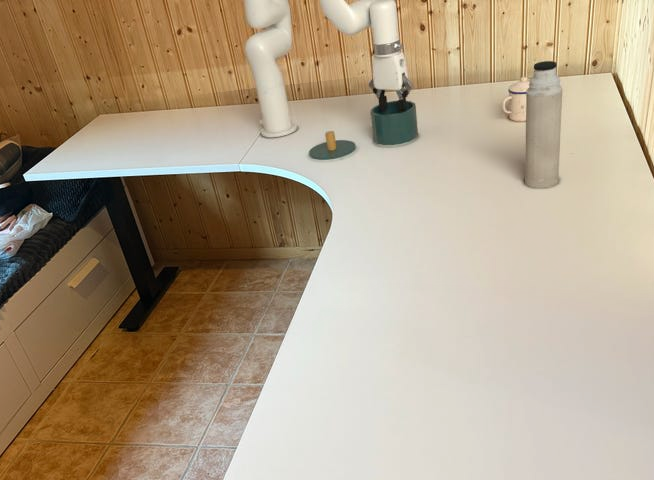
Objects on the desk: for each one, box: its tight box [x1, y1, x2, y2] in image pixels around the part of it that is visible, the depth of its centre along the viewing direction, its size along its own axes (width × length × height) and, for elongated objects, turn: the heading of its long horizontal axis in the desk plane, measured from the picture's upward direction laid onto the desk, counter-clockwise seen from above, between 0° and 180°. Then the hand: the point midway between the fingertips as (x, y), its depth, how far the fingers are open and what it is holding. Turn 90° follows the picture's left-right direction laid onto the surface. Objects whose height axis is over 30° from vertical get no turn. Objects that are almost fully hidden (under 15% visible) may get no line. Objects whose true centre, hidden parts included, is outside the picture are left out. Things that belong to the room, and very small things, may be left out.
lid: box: [308, 130, 357, 161], centre depth 204 cm, size 15×15×6 cm
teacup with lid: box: [501, 76, 530, 122], centre depth 202 cm, size 12×9×12 cm
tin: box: [370, 100, 419, 146], centre depth 204 cm, size 14×14×10 cm
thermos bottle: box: [524, 60, 563, 189], centre depth 158 cm, size 8×8×28 cm
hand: (393, 110), depth 202 cm, fingers open, 6 cm apart
